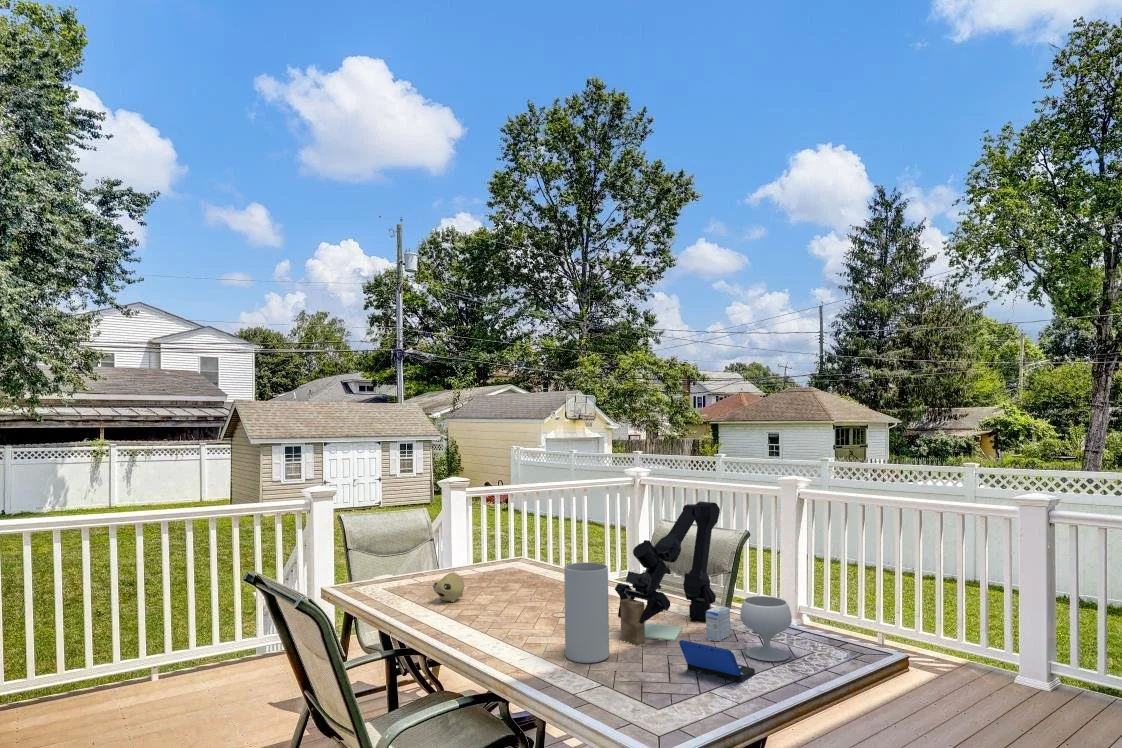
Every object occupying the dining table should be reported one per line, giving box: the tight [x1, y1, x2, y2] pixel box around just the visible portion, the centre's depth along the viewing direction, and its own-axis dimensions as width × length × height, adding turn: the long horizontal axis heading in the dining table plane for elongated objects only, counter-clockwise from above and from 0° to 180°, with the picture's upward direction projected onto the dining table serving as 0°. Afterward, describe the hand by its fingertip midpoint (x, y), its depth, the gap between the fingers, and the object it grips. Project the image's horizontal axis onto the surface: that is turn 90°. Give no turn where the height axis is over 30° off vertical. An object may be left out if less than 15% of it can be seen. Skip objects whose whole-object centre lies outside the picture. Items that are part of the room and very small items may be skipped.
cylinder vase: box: [563, 562, 610, 664], centre depth 190 cm, size 12×12×25 cm
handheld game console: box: [678, 640, 756, 684], centre depth 175 cm, size 16×13×9 cm
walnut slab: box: [619, 598, 646, 646], centre depth 202 cm, size 6×4×12 cm, turn 42°
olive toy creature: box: [432, 571, 465, 603], centre depth 253 cm, size 10×12×11 cm
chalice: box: [739, 595, 793, 662], centre depth 189 cm, size 14×14×15 cm
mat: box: [645, 622, 684, 642], centre depth 211 cm, size 16×14×1 cm
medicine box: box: [705, 605, 731, 642], centre depth 205 cm, size 8×4×9 cm, turn 141°
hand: (629, 620), depth 202 cm, fingers open, 8 cm apart
